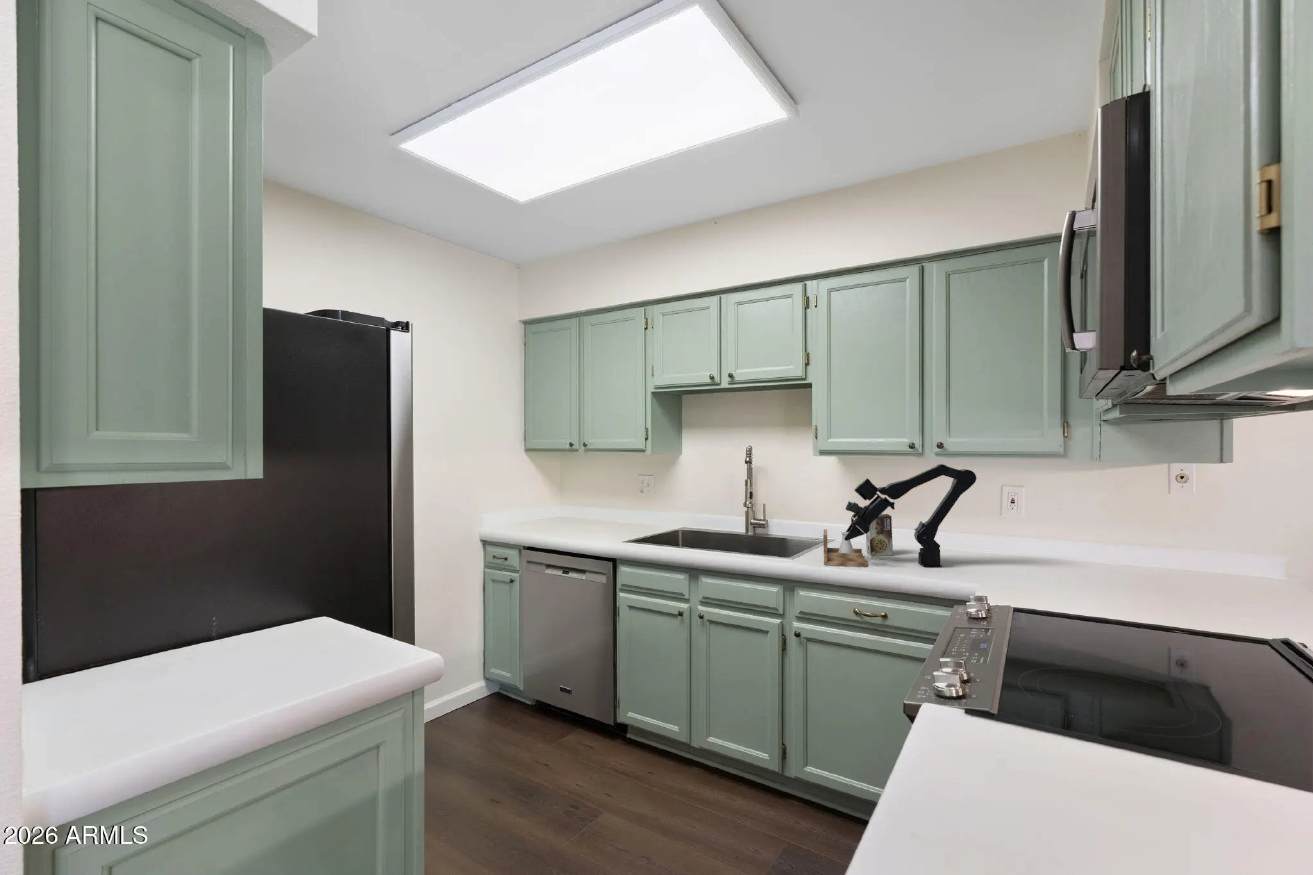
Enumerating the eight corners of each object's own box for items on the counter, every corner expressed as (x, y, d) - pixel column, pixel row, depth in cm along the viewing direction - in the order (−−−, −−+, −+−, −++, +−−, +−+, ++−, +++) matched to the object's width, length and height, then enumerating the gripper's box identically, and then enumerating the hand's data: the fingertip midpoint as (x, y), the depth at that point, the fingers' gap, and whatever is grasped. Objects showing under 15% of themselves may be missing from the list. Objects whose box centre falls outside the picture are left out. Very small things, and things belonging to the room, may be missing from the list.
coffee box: (888, 552, 246) (887, 513, 246) (893, 555, 240) (892, 515, 240) (865, 552, 247) (864, 513, 247) (869, 555, 241) (868, 515, 241)
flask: (847, 556, 234) (846, 530, 234) (860, 559, 227) (859, 533, 227) (832, 558, 231) (831, 532, 231) (845, 561, 224) (844, 534, 224)
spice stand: (864, 559, 234) (863, 530, 234) (866, 567, 220) (865, 535, 220) (824, 558, 238) (823, 529, 238) (824, 565, 224) (823, 534, 224)
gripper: (857, 492, 236) (828, 519, 240) (859, 496, 219) (828, 526, 222) (878, 512, 234) (850, 539, 237) (882, 518, 216) (851, 548, 219)
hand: (844, 537), depth 229 cm, fingers open, 9 cm apart
